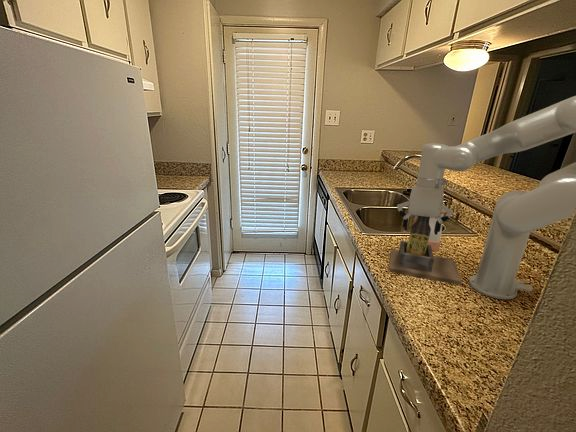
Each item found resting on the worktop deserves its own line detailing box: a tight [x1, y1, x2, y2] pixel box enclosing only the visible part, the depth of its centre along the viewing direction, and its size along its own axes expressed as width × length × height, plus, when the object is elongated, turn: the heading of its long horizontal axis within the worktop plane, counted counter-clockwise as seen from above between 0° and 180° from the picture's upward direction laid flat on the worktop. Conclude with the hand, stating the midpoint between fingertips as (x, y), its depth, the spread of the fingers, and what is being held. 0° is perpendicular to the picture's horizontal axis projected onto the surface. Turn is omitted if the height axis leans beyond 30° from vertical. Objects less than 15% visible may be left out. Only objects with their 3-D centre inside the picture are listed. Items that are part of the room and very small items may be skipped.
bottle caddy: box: [388, 240, 463, 286], centre depth 103 cm, size 22×16×6 cm
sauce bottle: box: [406, 216, 431, 256], centre depth 101 cm, size 7×6×20 cm
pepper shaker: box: [427, 204, 447, 251], centre depth 117 cm, size 7×7×19 cm
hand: (420, 231), depth 100 cm, fingers open, 9 cm apart
